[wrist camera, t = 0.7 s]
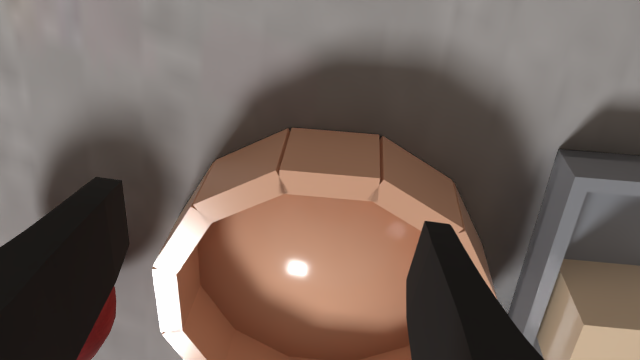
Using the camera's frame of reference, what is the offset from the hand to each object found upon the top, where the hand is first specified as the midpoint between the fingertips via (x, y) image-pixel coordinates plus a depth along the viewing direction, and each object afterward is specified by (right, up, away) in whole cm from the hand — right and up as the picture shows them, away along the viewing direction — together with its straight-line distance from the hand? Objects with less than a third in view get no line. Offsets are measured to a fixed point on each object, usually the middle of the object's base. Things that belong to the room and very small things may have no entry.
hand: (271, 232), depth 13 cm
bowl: (+1, -3, +13) cm, 13 cm away
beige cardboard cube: (+13, -4, +12) cm, 18 cm away
